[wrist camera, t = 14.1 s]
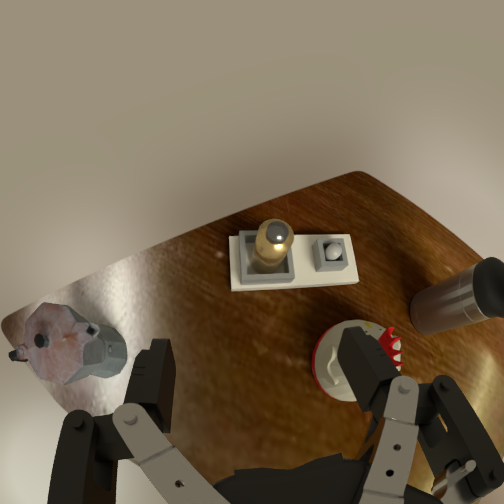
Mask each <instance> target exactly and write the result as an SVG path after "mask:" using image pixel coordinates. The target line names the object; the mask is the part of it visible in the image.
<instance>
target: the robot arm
mask: <svg viewBox="0 0 504 504" xmlns="http://www.w3.org/2000/svg"><path fill="white" fill-rule="evenodd" d="M410 317H411V321H412V323H413V325H414V327H415V329H416V330H417V331H418V332H420V333H421V334H424V335H429V334H433V333H438V332H442V331H447V330H451V329H455V328H458V327H462V326H466V325H470V324H473V323H477V322H480V321H483V320H487V319H490V318H493V317H501V318H504V263H503V262H502V261H500V260H499V259H497V258H494V257H489V258H486V259H484V260H482V261H480V262H479V263H477V264H475V265H473V266H471V267H469V268H467V269H466V270H464V271H462V272H460V273H458V274H456V275H454V276H452V277H450V278H448V279H445V280H443V281H441V282H439V283H437V284H435V285H433V286H430V287H428V288H426V289H424V290H422V291H420V292H418V293H417V294H415V296H414V297H413V299H412V301H411V305H410ZM337 359H338V363H339V365H340V367H341V369H342V371H343V373H344V375H345V377H346V379H347V381H348V383H349V385H350V387H351V389H352V391H353V394H354V396H355V398H356V400H357V402H358V404H359V406H360V408H361V410H362V412H363V413H364V412H368V411H372V413H373V415H372V417H371V419H370V422H369V425H368V428H367V431H366V434H365V437H364V440H363V443H362V446H361V448H360V450H359V452H358V454H357V455H356V457H355V459H346V458H343V457H342V454H341V453H339V454H335V455H331V456H327V457H323V458H318V459H315V460H313V461H311V462H309V463H306V464H304V465H302V466H299V467H297V468H295V469H291V470H285V469H271V468H253V469H240V470H234V473H235V475H233V476H230V477H227V478H224V479H222V480H220V481H218V482H216V483H215V484H213V485H212V486H211V485H210V484H209V483H208V482H207V481H206V480H205V479H204V478H203V477H202V476H201V475H200V474H199V473H198V472H197V471H196V470H195V469H194V467H193V466H192V465H191V464H190V463H189V462H188V461H187V460H186V459H185V458H184V456H183V455H182V454H181V453H180V452H179V451H178V450H177V449H176V448H175V447H174V446H172V445H171V444H170V442H169V441H168V440H167V439H166V438H165V436H164V435H163V433H170V429H171V417H172V405H173V395H174V386H175V377H176V366H175V360H174V356H173V351H172V347H171V342H170V339H152V342H151V346H150V350H141V352H140V353H139V354H138V355H137V356H136V358H135V361H134V365H133V368H132V372H131V376H130V379H129V383H128V387H127V391H126V395H125V399H124V403H123V405H121V406H119V407H118V408H117V409H116V410H115V411H114V413H112V414H109V415H103V416H95V417H92V416H91V415H90V414H89V413H88V412H86V411H84V410H74V411H72V412H70V413H69V414H67V416H66V417H65V419H64V421H63V426H62V429H61V433H60V437H59V441H58V445H57V450H56V455H55V459H54V464H53V469H52V474H51V481H50V487H49V494H48V502H47V504H116V482H117V467H118V460H122V459H129V458H135V459H136V460H137V462H138V463H139V466H140V468H141V469H142V470H143V472H144V473H145V475H146V476H147V477H148V479H149V480H150V481H151V483H152V484H153V485H154V486H155V488H156V489H157V490H158V492H159V493H160V494H161V495H162V497H163V498H164V499H165V500H166V501H167V503H168V504H472V503H474V502H475V501H477V500H479V499H481V498H482V497H484V496H485V495H487V494H489V493H490V492H492V491H493V490H495V489H496V488H498V487H500V486H501V485H502V483H503V482H504V463H503V461H502V459H501V457H500V455H499V453H498V451H497V449H496V448H495V446H494V444H493V442H492V440H491V438H490V437H489V435H488V433H487V431H486V430H485V428H484V426H483V425H482V423H481V421H480V420H479V418H478V416H477V415H476V413H475V411H474V410H473V408H472V407H471V405H470V403H469V402H468V400H467V399H466V397H465V396H464V394H463V393H462V391H461V390H460V388H459V387H458V385H457V384H456V382H455V381H454V380H453V379H452V378H451V377H449V376H446V375H439V376H437V377H436V378H435V379H434V380H433V382H432V383H428V384H417V383H416V381H415V380H413V379H412V378H410V377H407V376H402V375H401V374H400V372H399V371H398V369H397V368H396V366H395V365H394V363H393V362H392V360H391V359H390V357H389V356H388V355H387V353H386V352H385V350H384V349H383V347H382V346H381V344H380V343H379V341H378V340H377V339H375V338H374V337H373V336H371V335H366V333H365V332H364V330H363V329H362V327H360V326H355V327H348V328H344V330H343V333H342V337H341V340H340V344H339V347H338V351H337ZM439 414H440V415H441V417H442V419H443V420H444V422H445V424H446V426H447V429H448V432H446V430H445V428H444V426H443V425H442V423H441V421H440V419H439V417H438V415H439ZM417 439H418V441H419V443H420V445H421V447H422V450H423V452H424V454H425V456H426V458H427V461H428V463H429V465H430V468H431V470H432V472H433V475H434V477H435V479H434V482H433V487H432V488H431V493H432V495H431V494H428V493H426V492H424V491H421V490H419V489H417V488H415V487H412V486H410V485H408V484H406V483H407V480H408V476H409V472H410V469H411V464H412V460H413V456H414V451H415V446H416V441H417ZM433 495H434V496H433Z"/></svg>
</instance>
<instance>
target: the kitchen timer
mask: <svg viewBox="0 0 504 504" xmlns="http://www.w3.org/2000/svg"><path fill="white" fill-rule="evenodd" d="M355 326H360V327H362V329H363V330H364V332H365V333H366V335H371V336H373V337H374V338H375V339H377V340H378V341H379V343H380V344H381V346H382V347H383V349H384V350H385V352H386V353H387V355H388V356H389V357H390V359H391V360H392V362H393V363H394V365H395V366H396V368H397V369H398V371H399V370H400V366H401V365H404V363H402V362H400V354H402V353H403V352H402V351H399V349H400V346H401V345H400V339H401V337H397V336H392V335H391V333H392V331H393V329H394V327H389V328H387V329H385V328H383V327H381V326H380V325H378V324H375V323H372V322H368V321H364V320H349V321H344V322H341V323H339V324H336V325H334V326H332V327H330V328H329V329H328V330H327V331H326V332H324V333H323V334H322V336H321V337H320V339H319V340H318V342H317V343H316V346H315V348H314V351H313V354H312V365H311V367H312V372H313V377H314V379H315V381H316V383H317V385H318V386H319V388H320V389H321V390H322V391H323V392H324V393H326V394H327V395H329V396H331V397H333V398H335V399H338V400H343V401H357V400H356V398H355V396H354V394H353V391H352V389H351V387H350V385H349V383H348V381H347V379H346V377H345V375H344V373H343V371H342V369H341V367H340V365H339V363H338V359H337V351H338V347H339V344H340V340H341V337H342V333H343V330H344V328H348V327H355Z"/></svg>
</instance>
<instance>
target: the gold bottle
mask: <svg viewBox="0 0 504 504" xmlns="http://www.w3.org/2000/svg"><path fill="white" fill-rule="evenodd" d="M293 241H294V233H293V230H292V228H291V227H290V226H289V225H288V224H287V223H286V222H284V221H282V220H279V219H269V220H267V221H265V222H263V223H262V224H261V226H260V227H259V230H258V233H257V237H256V240H255V244H254V247H253V251H252V255H251V258H250V263H251V266H252V268H253V270H254V271H255V272H257V273H258V274H273V273H274V272H275V271H276V270H277V269H278V267H279V266H280V264H281V262H282V261H283V259H284V257H285V256H286V254H287V252H288V251H289V249H290V247H291V246H292V244H293Z"/></svg>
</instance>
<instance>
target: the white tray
mask: <svg viewBox="0 0 504 504" xmlns="http://www.w3.org/2000/svg"><path fill="white" fill-rule="evenodd" d="M257 233H258V231H239V236H229V250H230V273H231V291H245V290H267V289H286V288H302V287H318V286H331V285H344V284H355V283H357V282H359V279H358V273H357V268H356V263H355V257H354V252H353V248H352V243H351V238H350V234H337V235H294V241H293V244H292V246H291V247H290V249H289V251H288V252H287V254H286V256H285V257H284V259H283V261H282V262H281V264H280V266H279V267H278V269H277V270H276V271H275V272H274V273H273V274H258V273H257V272H255V271H254V270H253V268H252V266H251V263H250V258H251V255H252V251H253V247H254V244H255V240H256V237H257Z"/></svg>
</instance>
